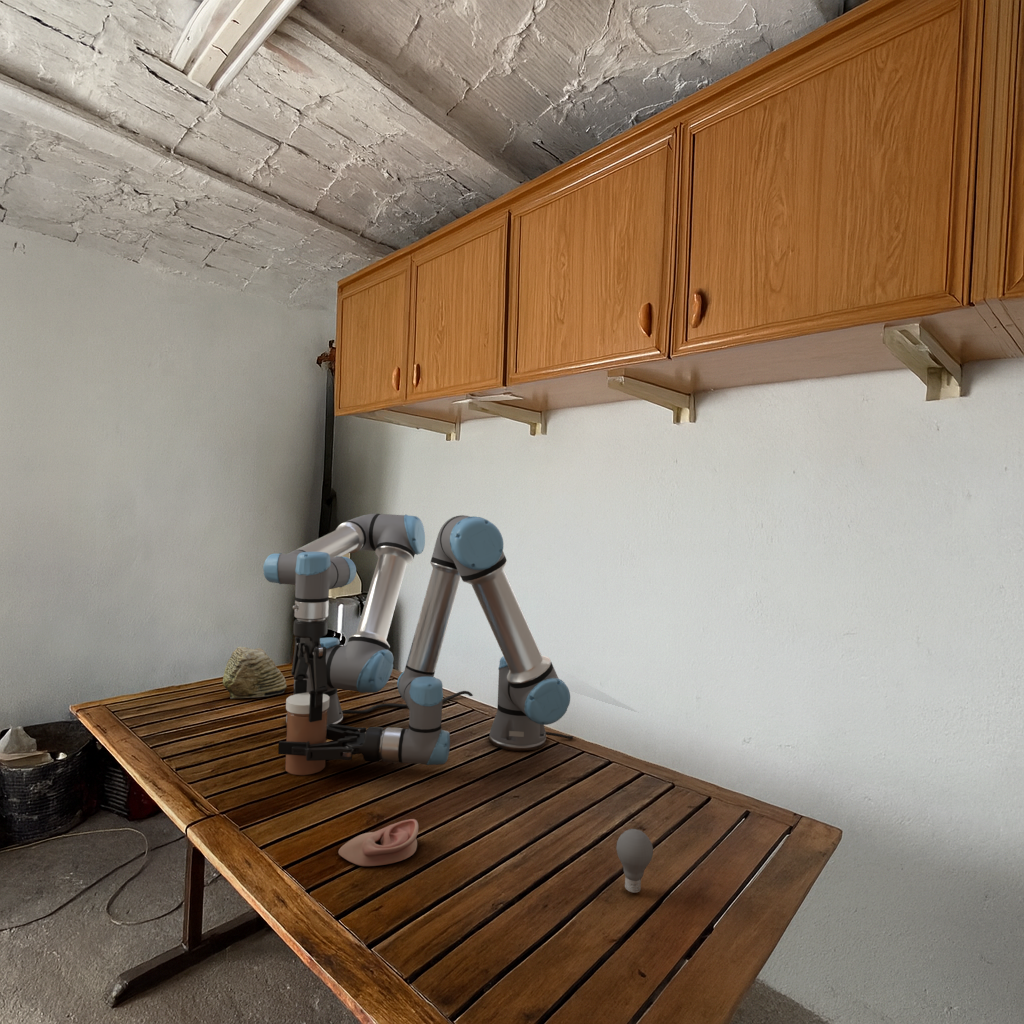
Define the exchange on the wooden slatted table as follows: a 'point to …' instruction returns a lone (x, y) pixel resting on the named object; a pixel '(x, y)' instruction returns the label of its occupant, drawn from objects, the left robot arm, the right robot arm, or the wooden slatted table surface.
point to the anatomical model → (382, 845)
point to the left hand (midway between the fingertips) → (307, 713)
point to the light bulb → (634, 857)
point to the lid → (303, 703)
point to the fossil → (252, 674)
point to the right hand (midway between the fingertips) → (287, 739)
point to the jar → (304, 732)
